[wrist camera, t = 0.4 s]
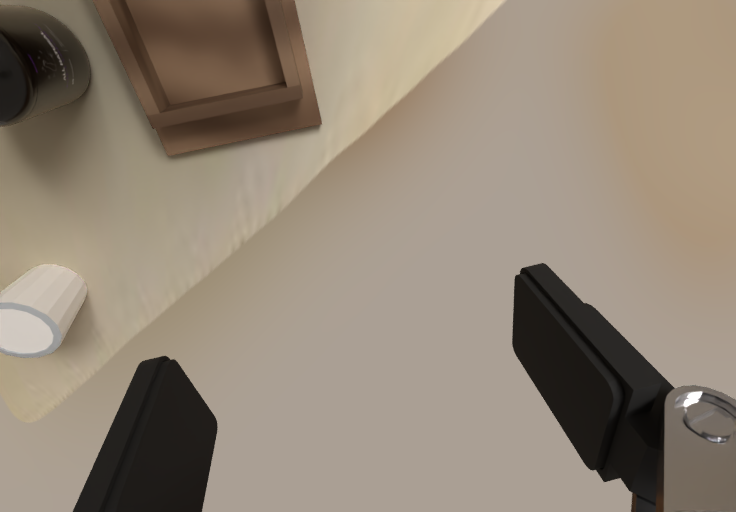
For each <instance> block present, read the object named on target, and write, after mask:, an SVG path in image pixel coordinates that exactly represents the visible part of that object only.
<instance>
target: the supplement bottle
mask: <svg viewBox="0 0 736 512" xmlns="http://www.w3.org/2000/svg"><path fill="white" fill-rule="evenodd" d="M89 80H90V66H89V61H88V58H87V55H86V53H85V51H84V48H83V47H82V45H81V43H80V42H79V40H78V39H77V38H76V36H75V35H74V34H73V33H72V32H71V31H70V30H69V29H68V28H67V27H66V26H65V25H64V24H63V23H61V22H60V21H59V20H57V19H56V18H54V17H52V16H51V15H49V14H47V13H45V12H43V11H40V10H38V9H35V8H31V7H26V6H16V5H0V127H5V126H9V125H13V124H16V123H19V122H21V121H24V120H27V119H29V118H32V117H34V116H37V115H40V114H42V113H45V112H48V111H50V110H53V109H56V108H58V107H61V106H64V105H66V104H68V103H71V102H73V101H75V100H76V99H78V98H79V97H80V96H81V95H82V94H83V93H84V92H85V90H86V89H87V86H88V84H89Z"/></svg>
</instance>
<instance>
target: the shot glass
mask: <svg viewBox="0 0 736 512" xmlns="http://www.w3.org/2000/svg"><path fill="white" fill-rule="evenodd" d="M87 291H88V289H87V286H86V283H85V281H84V280H83V279H82V278H81V277H80V276H79V275H78V274H77V273H75V272H74V271H72V270H70V269H68V268H67V267H63V266H59V265H55V264H41V265H38V266H36V267H33V268H31V269H30V270H28V271H27V272H26V273H25V274H23V275H22V276H21V277H19V278H18V279H17V280H15V281H14V282H13V283H11V284H10V285H9V286H8V287H6V288H5V289H4V290H2V291H1V292H0V352H1V353H3V354H6V355H10V356H16V357H21V358H34V357H42V356H45V355H48V354H50V353H53V352H54V351H55V350H56V349H57V348H58V347H59V346H60V345H61V343H62V341H63V339H64V337H65V336H66V334H67V332H68V330H69V328H70V326H71V324H72V323H73V321H74V319H75V317H76V315H77V313H78V311H79V310H80V308H81V306H82V304H83V302H84V300H85V298H86V296H87Z"/></svg>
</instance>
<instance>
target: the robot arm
mask: <svg viewBox="0 0 736 512" xmlns="http://www.w3.org/2000/svg"><path fill="white" fill-rule="evenodd" d="M512 340H513V341H512V344H513V348H514V352H515V354H516V356H517V357H518V359H519V360H520V362H521V364H522V365H523V367H524V368H525V370H526V371H527V373H528V375H529V376H530V378H531V380H532V381H533V383H534V384H535V386H536V387H537V389H538V391H539V392H540V394H541V395H542V397H543V398H544V400H545V402H546V403H547V405H548V406H549V408H550V410H551V411H552V413H553V414H554V416H555V417H556V419H557V421H558V422H559V424H560V425H561V427H562V429H563V430H564V432H565V433H566V435H567V437H568V438H569V440H570V441H571V443H572V444H573V446H574V447H575V449H576V451H577V452H578V454H579V456H580V457H581V459H582V460H583V462H584V463H585V465H586V466H587V467H588V468H589V469H590V470H597V472H598V474H599V475H600V477H601V478H602V480H603V481H604V482H607V481H610V480H614V479H618V478H621V479H622V481H623V482H624V484H625V485H626V487H627V488H628V490H629V491H631V492H632V505H631V512H736V400H735V399H733V398H731V397H730V396H728V395H726V394H724V393H722V392H719V391H716V390H713V389H711V388H707V387H701V386H696V385H692V386H681V387H678V388H674V387H673V386H672V385H671V384H670V383H669V382H668V381H667V380H666V379H665V378H664V377H663V376H662V375H661V374H660V373H659V372H658V371H657V370H656V369H655V368H654V367H653V366H652V365H651V364H650V363H649V362H648V361H647V360H646V359H645V358H644V357H643V356H642V355H641V354H640V353H639V352H638V351H637V350H636V349H635V348H634V347H633V346H632V345H631V344H630V343H629V342H628V341H627V340H626V339H625V338H624V337H623V336H622V335H621V334H620V333H619V332H618V331H617V330H616V329H615V328H614V327H613V326H612V325H611V324H610V323H609V322H608V321H607V320H606V319H605V318H604V317H603V316H602V315H601V314H600V313H599V312H598V311H597V310H596V309H595V308H594V307H593V306H591V305H589V304H587V303H583V302H582V301H581V300H580V299H579V298H578V297H577V296H576V295H575V294H574V293H573V291H571V289H570V288H569V287H568V286H566V284H565V283H563V281H562V280H561V279H560V278H559V277H558V276H557V275H556V274H555V273H554V272H553V271H552V270H551V269H550V268H549V267H548V266H547V265H546V264H544V263H542V264H538V265H533V266H529V267H525V268H522V269H521V271H520V274H519V275H516V276H515V286H514V313H513V339H512ZM216 434H217V421H216V418H215V416H214V415H213V413H212V412H211V410H210V409H209V407H208V406H207V404H206V403H205V402H204V400H203V399H202V397H201V396H200V394H199V393H198V391H197V390H196V389H195V387H194V386H193V384H192V383H191V381H190V380H189V378H188V377H187V375H186V374H185V372H184V371H183V370H182V368H181V367H180V365H179V364H178V362H177V361H176V360H170V359H169V358H168V357H167V356H162V357H158V358H154V359H149V360H145V361H142V362H141V363H140V364H139V366H138V368H137V370H136V372H135V374H134V376H133V379H132V381H131V383H130V385H129V388H128V390H127V392H126V394H125V396H124V399H123V401H122V403H121V405H120V408H119V410H118V412H117V414H116V416H115V419H114V421H113V423H112V425H111V428H110V430H109V432H108V434H107V437H106V439H105V441H104V444H103V445H102V448H101V450H100V452H99V454H98V457H97V459H96V461H95V463H94V465H93V468H92V470H91V472H90V475H89V477H88V479H87V481H86V483H85V485H84V488H83V490H82V492H81V495H80V497H79V499H78V501H77V503H76V506H75V508H74V510H73V512H202V508H203V502H204V497H205V492H206V487H207V482H208V476H209V471H210V466H211V460H212V455H213V450H214V445H215V440H216Z"/></svg>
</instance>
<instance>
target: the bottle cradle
mask: <svg viewBox="0 0 736 512" xmlns="http://www.w3.org/2000/svg"><path fill="white" fill-rule="evenodd" d="M93 2H94V5H95V7H96V9H97V11H98V13H99V15H100V17H101V19H102V22H103V24H104V26H105V28H106V30H107V32H108V34H109V36H110V39H111V41H112V43H113V45H114V47H115V49H116V51H117V53H118V56H119V58H120V60H121V62H122V64H123V66H124V68H125V71H126V73H127V75H128V77H129V79H130V81H131V83H132V85H133V88H134V90H135V92H136V94H137V96H138V98H139V100H140V102H141V105H142V107H143V109H144V111H145V113H146V115H147V117H148V119H149V122H150V124H151V126H152V128H153V129H156V131H157V133H158V135H159V138H160V140H161V142H162V144H163V146H164V148H165V150H166V153H167V155H168V156H170V155H175V154H180V153H185V152H189V151H194V150H199V149H204V148H209V147H213V146H218V145H223V144H228V143H233V142H238V141H242V140H247V139H252V138H257V137H262V136H267V135H271V134H276V133H281V132H286V131H291V130H296V129H300V128H305V127H310V126H315V125H320V124H322V122H321V117H320V113H319V108H318V104H317V99H316V95H315V91H314V86H313V82H312V77H311V73H310V68H309V64H308V59H307V55H306V50H305V46H304V41H303V37H302V32H301V28H300V24H299V19H298V15H297V10H296V6H295V1H294V0H93Z"/></svg>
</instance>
